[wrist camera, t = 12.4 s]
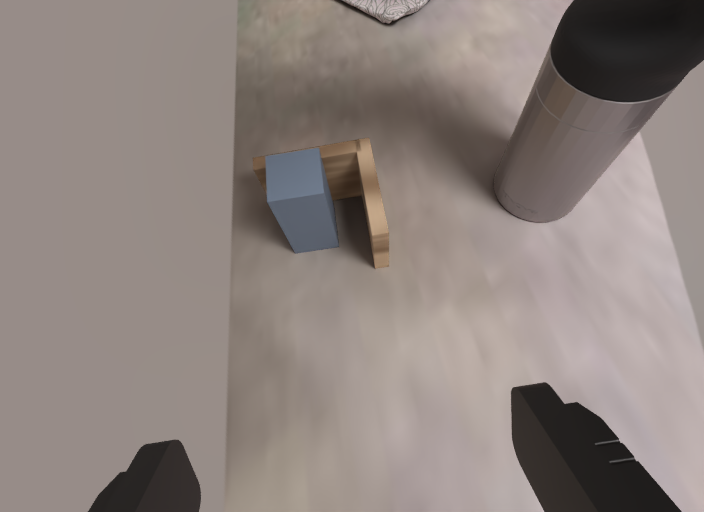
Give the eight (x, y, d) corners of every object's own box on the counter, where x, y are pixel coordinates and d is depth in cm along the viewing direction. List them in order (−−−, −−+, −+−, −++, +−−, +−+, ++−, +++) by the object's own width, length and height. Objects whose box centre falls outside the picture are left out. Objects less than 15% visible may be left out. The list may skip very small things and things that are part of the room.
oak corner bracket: (388, 266, 42) (388, 232, 34) (280, 284, 42) (257, 255, 35) (372, 182, 46) (369, 137, 39) (274, 199, 47) (252, 157, 39)
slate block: (334, 208, 45) (318, 147, 35) (339, 246, 43) (323, 193, 33) (292, 215, 45) (265, 155, 35) (295, 253, 43) (267, 202, 33)
